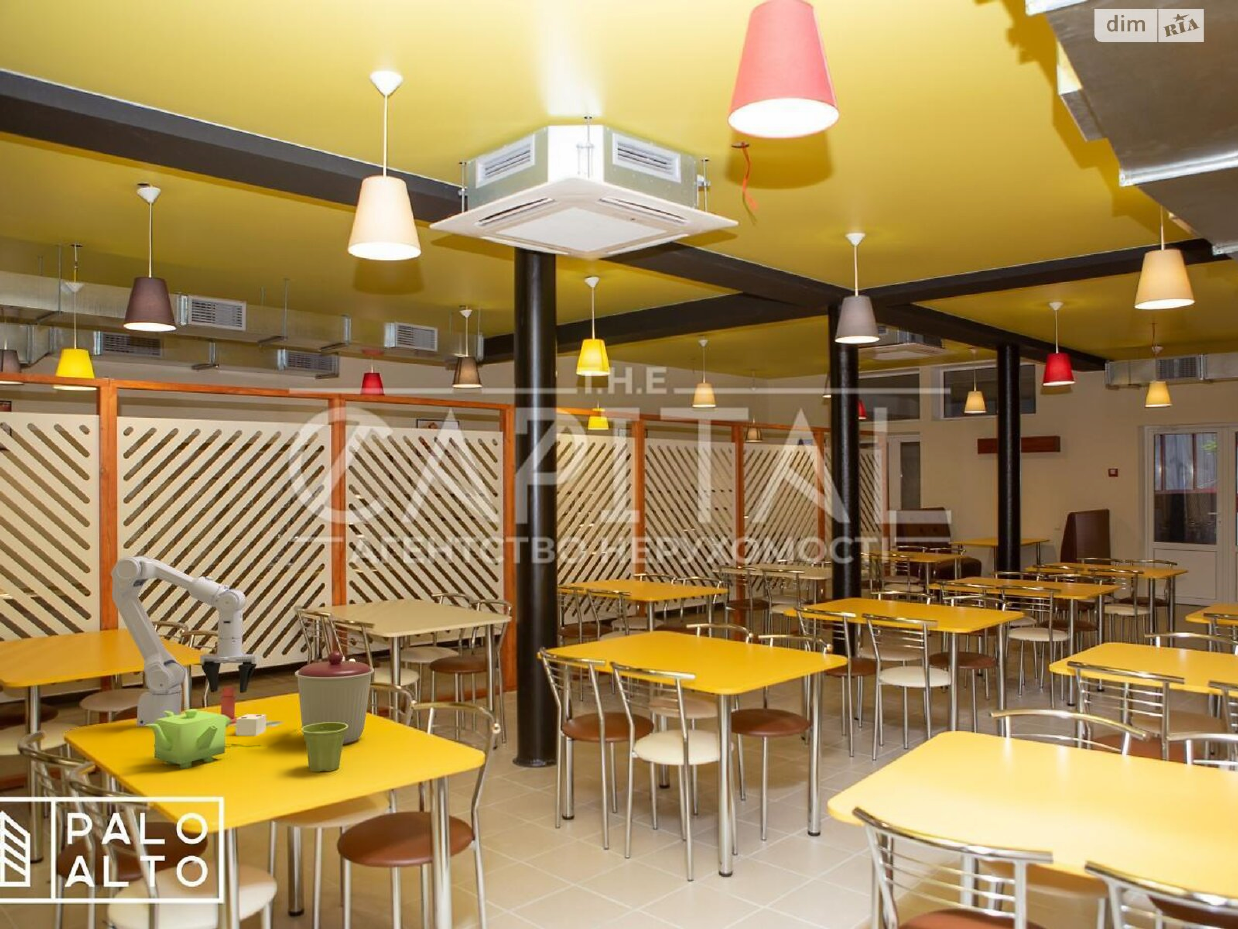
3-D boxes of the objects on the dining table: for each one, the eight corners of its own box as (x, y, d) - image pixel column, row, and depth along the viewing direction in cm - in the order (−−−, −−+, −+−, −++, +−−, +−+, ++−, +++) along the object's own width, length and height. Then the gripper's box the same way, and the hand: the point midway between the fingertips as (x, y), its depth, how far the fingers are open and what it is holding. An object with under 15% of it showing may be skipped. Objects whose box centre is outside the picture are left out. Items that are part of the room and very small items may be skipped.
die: (235, 740, 216) (236, 718, 216) (245, 735, 221) (246, 714, 221) (255, 740, 215) (256, 719, 216) (265, 735, 220) (266, 714, 221)
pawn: (214, 724, 227) (215, 687, 227) (223, 720, 231) (224, 684, 232) (231, 725, 226) (232, 688, 227) (240, 720, 231) (241, 684, 231)
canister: (359, 728, 227) (361, 644, 229) (382, 744, 212) (384, 653, 213) (285, 737, 218) (287, 649, 219) (303, 754, 202) (306, 659, 204)
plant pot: (324, 777, 185) (325, 734, 186) (290, 771, 190) (291, 729, 190) (356, 766, 194) (357, 725, 194) (323, 760, 198) (324, 720, 198)
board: (186, 729, 226) (186, 725, 226) (201, 722, 233) (201, 718, 233) (275, 731, 224) (275, 727, 224) (288, 724, 231) (288, 720, 231)
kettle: (143, 773, 187) (145, 718, 188) (158, 756, 201) (159, 705, 201) (221, 768, 191) (223, 714, 192) (231, 751, 205) (232, 701, 205)
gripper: (194, 639, 226) (192, 694, 226) (250, 640, 225) (248, 695, 225) (208, 635, 233) (207, 689, 233) (263, 636, 232) (261, 690, 232)
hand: (228, 692), depth 229 cm, fingers open, 7 cm apart
